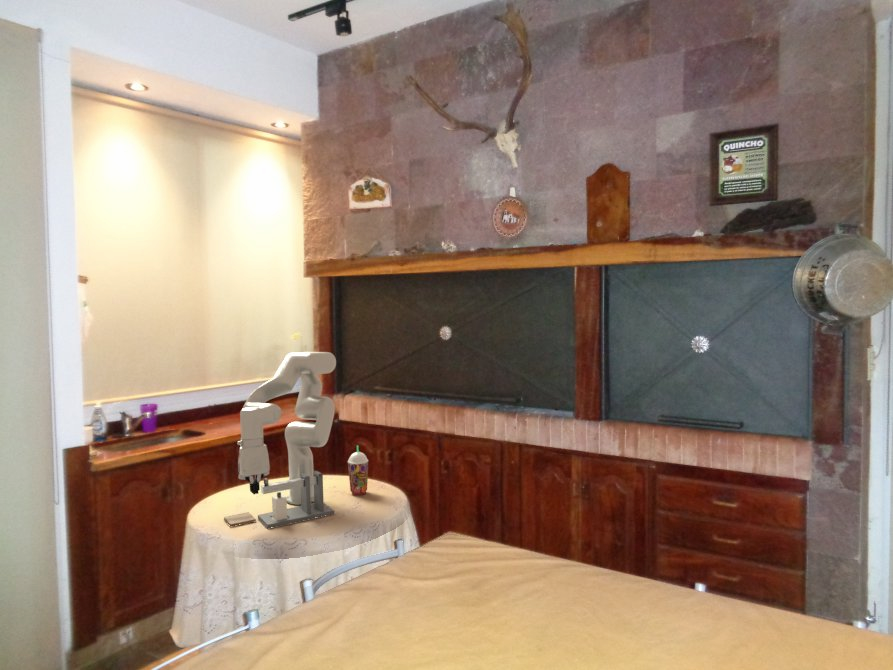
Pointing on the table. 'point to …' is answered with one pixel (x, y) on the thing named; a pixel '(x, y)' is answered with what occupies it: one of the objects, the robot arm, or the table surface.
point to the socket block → (302, 505)
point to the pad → (239, 519)
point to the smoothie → (358, 472)
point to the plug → (279, 507)
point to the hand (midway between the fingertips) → (254, 493)
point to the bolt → (286, 484)
